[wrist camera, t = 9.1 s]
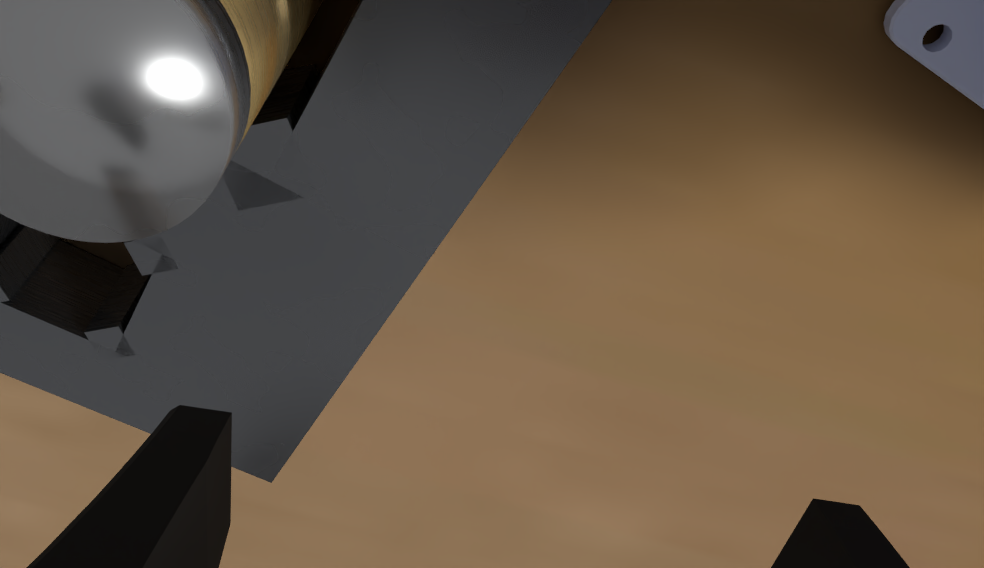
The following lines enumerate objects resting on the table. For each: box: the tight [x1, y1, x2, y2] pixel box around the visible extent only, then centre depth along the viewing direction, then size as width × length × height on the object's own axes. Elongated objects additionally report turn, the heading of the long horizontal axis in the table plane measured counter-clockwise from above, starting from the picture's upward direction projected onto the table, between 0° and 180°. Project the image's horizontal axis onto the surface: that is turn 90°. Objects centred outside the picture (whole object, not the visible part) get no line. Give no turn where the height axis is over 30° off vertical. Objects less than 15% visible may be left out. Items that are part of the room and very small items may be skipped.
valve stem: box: [0, 0, 323, 243], centre depth 13 cm, size 4×4×7 cm
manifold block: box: [0, 0, 612, 483], centre depth 17 cm, size 12×14×2 cm
